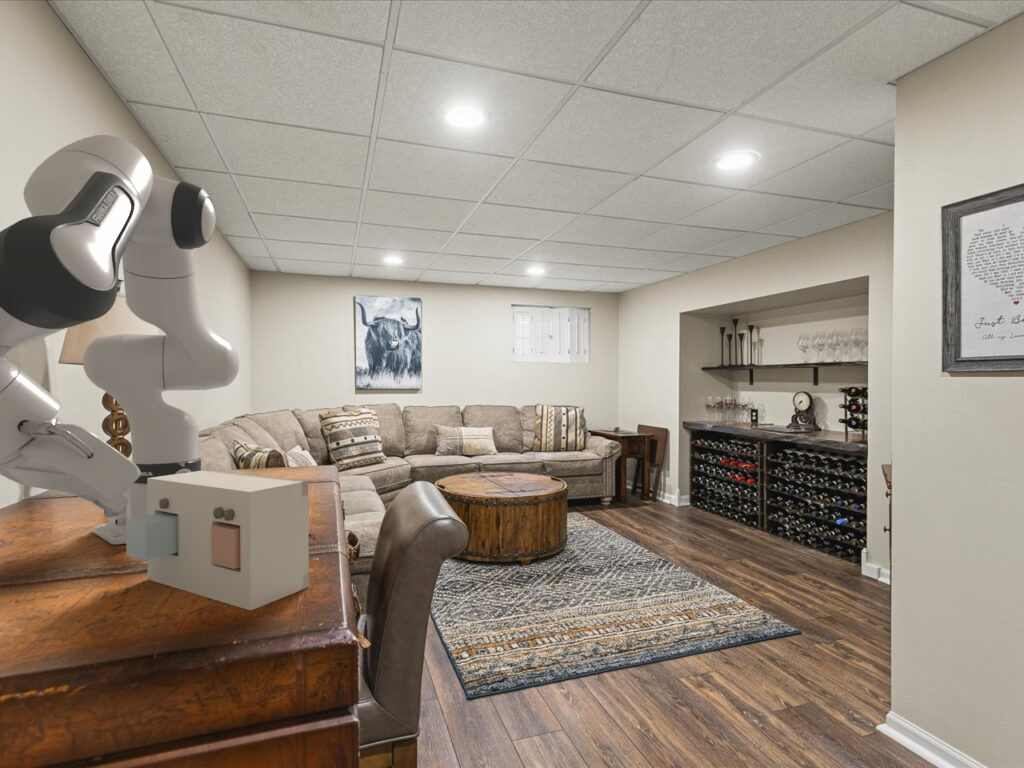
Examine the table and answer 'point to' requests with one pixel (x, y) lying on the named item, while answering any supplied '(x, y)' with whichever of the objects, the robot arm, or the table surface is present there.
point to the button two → (225, 545)
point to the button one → (152, 536)
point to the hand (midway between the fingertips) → (118, 505)
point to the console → (263, 535)
